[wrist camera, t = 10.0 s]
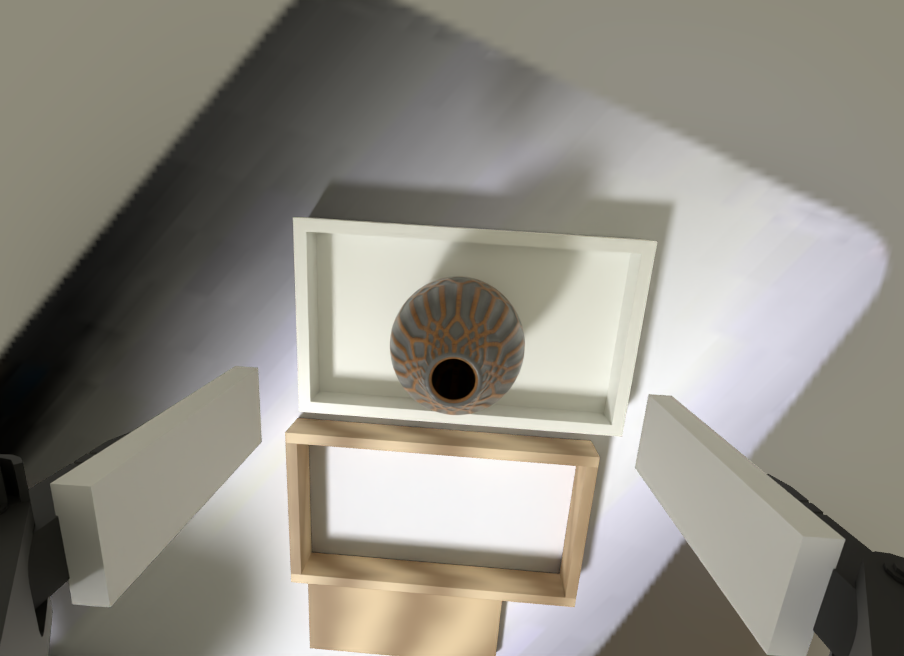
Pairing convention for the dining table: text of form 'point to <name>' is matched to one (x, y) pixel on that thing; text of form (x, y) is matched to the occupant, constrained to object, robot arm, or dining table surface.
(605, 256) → the off-white tray
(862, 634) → the robot arm
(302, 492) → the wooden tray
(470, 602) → the lid
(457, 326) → the vase
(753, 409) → the dining table surface
